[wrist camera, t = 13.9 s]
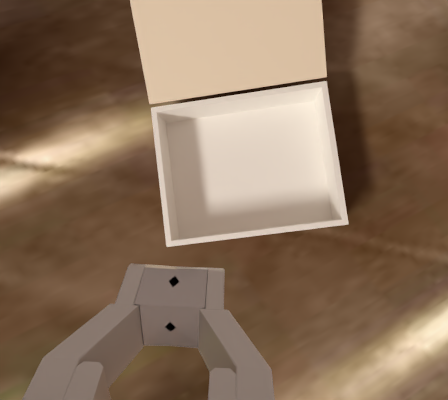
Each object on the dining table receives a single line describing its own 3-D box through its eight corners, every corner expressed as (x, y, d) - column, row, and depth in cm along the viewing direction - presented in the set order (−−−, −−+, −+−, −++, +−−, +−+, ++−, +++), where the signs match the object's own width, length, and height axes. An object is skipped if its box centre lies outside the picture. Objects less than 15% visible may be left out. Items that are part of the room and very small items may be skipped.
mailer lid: (315, -93, 34) (314, -90, 35) (119, -56, 35) (121, -54, 36) (326, 76, 38) (325, 77, 38) (149, 104, 39) (150, 104, 40)
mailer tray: (337, 224, 42) (348, 224, 37) (176, 244, 43) (166, 246, 38) (317, 97, 43) (326, 80, 38) (161, 120, 45) (150, 107, 40)
